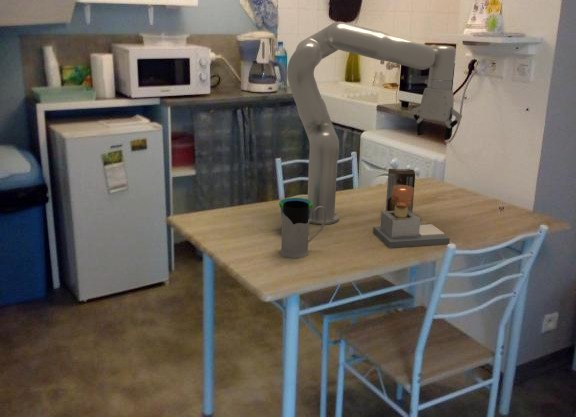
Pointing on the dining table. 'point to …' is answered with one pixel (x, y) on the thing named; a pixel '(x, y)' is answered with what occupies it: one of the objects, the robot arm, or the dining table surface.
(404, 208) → the copper headed peg
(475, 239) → the dining table surface
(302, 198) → the snack cup
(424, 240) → the charcoal board
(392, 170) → the coffee box
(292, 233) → the glass holder
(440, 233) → the cream pad
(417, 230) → the grey hollow socket block
